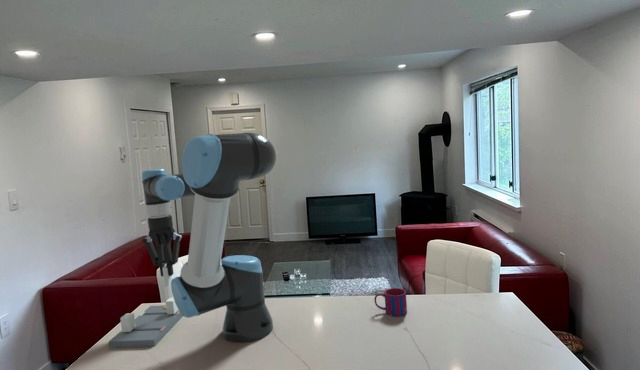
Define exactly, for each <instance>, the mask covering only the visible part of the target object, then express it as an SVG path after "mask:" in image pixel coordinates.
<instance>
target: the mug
mask: <svg viewBox="0 0 640 370" xmlns="http://www.w3.org/2000/svg"><path fill="white" fill-rule="evenodd" d="M379 296H382V297H384V305H385V307H383V306H380V305H379V304H378V303H377V297H379ZM374 304H375V306H376V307H377V308H378V309H380V310H382V311H385V314H386V315H387V316H390V317H393V318H394V317H395V318H397V317H404V316H405V315H407V314H408V306H407V305H408V304H407V291H406V290H405V289H403V288H399V287H391V288H388V289H385V291H384V293H377V294H375V296H374Z"/></svg>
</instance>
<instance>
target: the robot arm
mask: <svg viewBox="0 0 640 370" xmlns="http://www.w3.org/2000/svg"><path fill="white" fill-rule="evenodd" d="M276 161H277V154H276V149H275V146H274V145H273V143H272V142H271V141H270V140H269V139H268V138H267V137H265V136H264V135H262V134H259V133H257V132H256V133H255V132H250V131H249V132H241V133H240V132H238V133H225V134H224V133H222V134H212V133H211V134H205V135H198V136H194V137H193V138H191V139H190V140H188V142H187V143H186V145H185V146H184V149H183V152H182V156H181V167H182V171H181V173H177V174H176V173H175V174H168V175H167V171H166V169H165V168H155V169H146V170H143V171H142V173H141V179H142V180H141V183H142V186H143V187H142V188H143V195H144V200H145V209H146V217H148V218H147V225H148V229H149V231H148V234H147V236H146V237H144V238H143V239H142V242H143V244H144V245H145V246H146V250H147V252H148V254H149V257H150V259H151V262H152V265H153V266H154V267H158V268H159V273H160V276H161V277H162V278H163V282H164V287H165V288H166V287H169V288H171V293H172V297H174V300H175V303H176V305H177V308H178V310H179V311H180V313H181V314H182V315H183V317H185V318H187V319H189V318H193V317H197V316H198V317H199V316H201V315H204V314H206V313H209V312H212V311H215V310H217V309H220V308H222V307H226V310H225V316H224V320H223V324H222V334H223V337H224V338H225V339H227V340H228V341H231V342H238V343H245V342H251V341H252V342H253V341H256V340H259V339H261V338H264V337H266V336H267V335H268V334H270V333H271V332H272V331H273V329H274V323H273V322H274V321H273V318H272V316H271V313H270V311H269V309H268V307H267V305H266V300H265V298H266V297H265V290H264V289H265V288H264V278H263V277H264V276H263V268H262V264H261V260H260V259H259V258H258V257H256V256H253V255H242V254H241V255H228V256H224V257H223V258H222V256H223V255H222V254H223V250H224V249H223V248H224V242H225V235H226V229H227V222H228V217H229V211H230V204H231V199H232V198H234V197H235V196H236V195H237V194H238V192H239V188H240V187H239V186H240V183H241V182H244V181H248V180H254V179H259V178H261V177H264V176H266V175H268V174H269V173H270V172H272V170H273V169H274V167H275V165H276ZM193 196H194V201H193V210H192V211H193V212H192V219H191V227H190V228H191V229H190V238H189V245H188V247H189V248H188V256H187V261H186V262H185V263H184V264H183V265H182V267H181V268H180V275H179V276H175V277H174V278H172V276H173V275H174V265H175V264H177V263H178V261H179V254H180V247H181V240H182V238H183V235H182V234H178V233H176V230H175V228H174V223H173V216H172V215H171V214H172V209H171V208H172V207H171V201H176V200H178V199H182V198H187V197H193ZM172 240H174V241H173V246H171V244H172ZM172 248H173V249H172Z"/></svg>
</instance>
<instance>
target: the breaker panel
mask: <svg viewBox="0 0 640 370" xmlns="http://www.w3.org/2000/svg"><path fill="white" fill-rule="evenodd" d="M183 317H184V316H183V315H182V314H181V313H180V311H179V310H178V311H177V312H176V313H175V314H167V309H166V304H165V305H150V306H149V307H147V308H146V309H145V310H144V311H143V312H142V313H140V314H139V315H138V316H137V317H135V324H136V327H135V328H134V329H133V330H131V331H130V332H122V329H121V330H120V331H119V332H118V333H117V334H116V335H114V336H113V337H112V338H111V339H110V340H108V344H109V348H111V349H113V348H114V349H115V348H142V347H143V348H144V347H156V346H157V345H158V344H159V342H161V340H162V339H163V338H164V337H165V336H166V335H167V334H168V333H169V332H170V331H171V330H172V328H174V327H175V325H176V324H177V323H178V322H179V321H180V320H181V319H182V318H183Z"/></svg>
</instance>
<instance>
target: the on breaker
mask: <svg viewBox="0 0 640 370" xmlns="http://www.w3.org/2000/svg"><path fill="white" fill-rule="evenodd" d="M135 319H136V317H135V313H134V312H130V313H129V312H128V313H125V314H124V315H122V316H121V317H120V325H121V330H122V332H130V331H131V330H133V329H134V328H135V327H136V324H135Z"/></svg>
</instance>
